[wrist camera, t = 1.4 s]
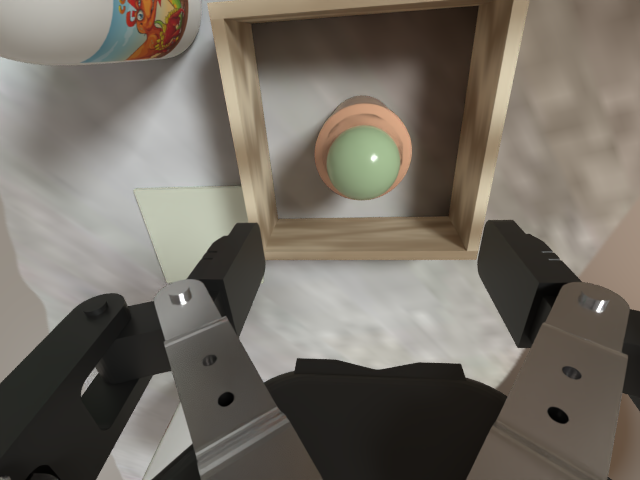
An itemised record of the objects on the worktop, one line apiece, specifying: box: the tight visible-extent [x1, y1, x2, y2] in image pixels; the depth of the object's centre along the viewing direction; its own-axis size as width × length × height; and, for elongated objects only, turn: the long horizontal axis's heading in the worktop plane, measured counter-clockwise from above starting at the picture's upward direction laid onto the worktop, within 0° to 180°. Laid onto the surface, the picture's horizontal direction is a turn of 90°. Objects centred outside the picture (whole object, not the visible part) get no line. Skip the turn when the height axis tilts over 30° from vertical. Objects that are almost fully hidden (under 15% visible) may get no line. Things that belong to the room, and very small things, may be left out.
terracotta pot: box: [315, 96, 412, 200], centre depth 23 cm, size 6×6×11 cm
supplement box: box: [142, 401, 192, 480], centre depth 40 cm, size 9×9×15 cm
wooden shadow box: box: [207, 0, 529, 260], centre depth 25 cm, size 18×18×6 cm
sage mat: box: [133, 186, 264, 283], centre depth 34 cm, size 11×11×1 cm
